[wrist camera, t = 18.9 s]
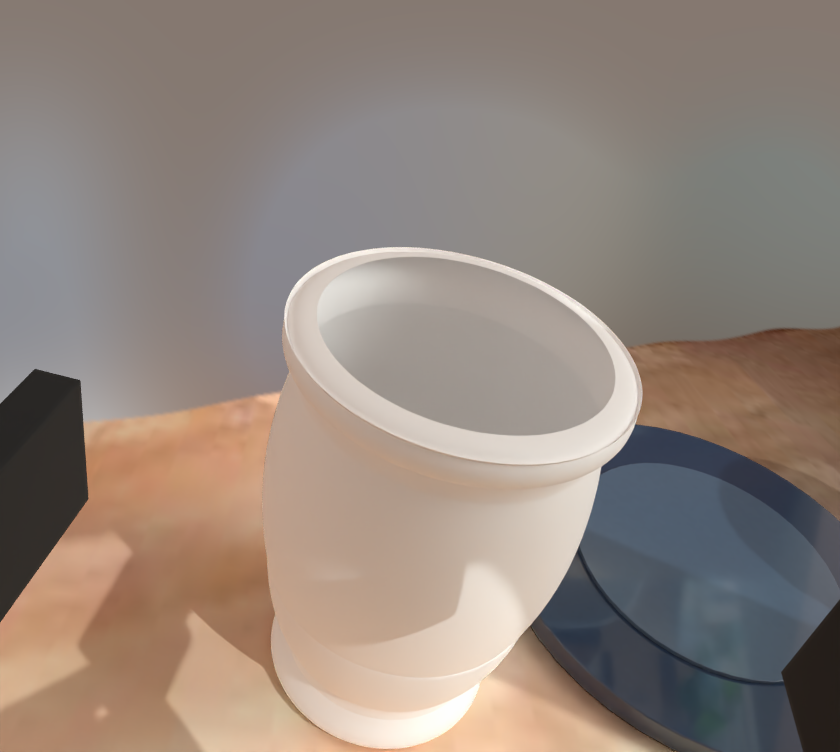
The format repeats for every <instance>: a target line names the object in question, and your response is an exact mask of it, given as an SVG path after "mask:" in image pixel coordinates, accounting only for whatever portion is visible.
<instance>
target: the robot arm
mask: <svg viewBox="0 0 840 752" xmlns="http://www.w3.org/2000/svg"><path fill="white" fill-rule="evenodd" d="M87 500H88V487H87V472H86V457H85V442H84V428H83V413H82V398H81V383H80V380H77V379H73V378H69V377H65V376H61V375H57V374H53V373H49V372H44V371H41V370H37V369H35V370H33V372H31V373H30V374H29V376H28V377H26V378H25V380H24V381H23V382H22V383H21V384H20V385H19V386H18V387H17V388H16V389H15V390H14V391H13V392H12V393H11V394H10V395H9V396H8V397H7V398H6V399H5V400H4V401H3V402H2V403H1V404H0V622H1V621H2V619H3V618H4V616H5V615H6V614H7V612H8V611H9V609H10V608H11V607H12V605H13V604H14V602H15V601H16V600H17V598H18V597H19V595H20V594H21V593H22V591H23V590H24V588H25V587H26V586H27V584H28V583H29V581H30V580H31V579H32V577H33V576H34V574H35V573H36V572H37V570H38V569H39V567H40V566H41V565H42V563H43V562H44V560H45V559H46V558H47V556H48V555H49V553H50V552H51V551H52V549H53V548H54V546H55V545H56V544H57V542H58V541H59V539H60V538H61V537H62V535H63V534H64V532H65V531H66V530H67V528H68V527H69V525H70V524H71V523H72V521H73V520H74V518H75V517H76V516H77V514H78V513H79V511H80V510H81V509H82V507H83V506H84V504H85V503H86V502H87ZM781 674H782V677H783V681H784V685H785V688H786V692H787V695H788V699H789V703H790V706H791V710H792V714H793V717H794V721H795V724H796V728H797V732H798V735H799V739H800V742H801V746H802V750H803V752H840V600H839V601H838V602H837V603H836V605H835V606H834V607H833V608H832V610H831V611H830V612H829V613H828V615H827V616H826V617H825V618H824V619H823V621H822V622H821V623H820V624H819V626H818V627H817V628H816V629H815V631H814V632H813V633H812V634H811V636H810V637H809V638H808V639H807V641H806V642H805V643H804V644H803V646H802V647H801V648H800V649H799V651H798V652H797V653H796V654H795V656H794V657H793V658H792V659H791V660H790V662H789V663H788V664H787V665H786V667H785V668H784V669H783V670H782V672H781Z"/></svg>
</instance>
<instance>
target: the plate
mask: <svg viewBox="0 0 840 752" xmlns="http://www.w3.org/2000/svg"><path fill="white" fill-rule="evenodd" d="M839 600H840V521H839V520H838V519H836V518H835V517H834V516H833V515H832V514H831V513H830V512H829V511H827V510H826V509H825V508H824V507H822V506H821V505H820V504H819V503H817V502H816V501H815V500H814V499H812V498H811V497H810V496H809V495H807V494H806V493H804V492H803V491H801V490H800V489H799V488H797V487H796V486H794V485H793V484H791V483H790V482H789V481H787V480H785V479H784V478H782V477H780V476H779V475H777V474H776V473H774V472H772V471H771V470H769V469H767V468H766V467H764V466H762V465H760V464H758V463H756V462H754V461H752V460H750V459H748V458H746V457H745V456H742V455H740V454H738V453H736V452H733V451H731V450H729V449H727V448H724V447H722V446H719V445H717V444H714V443H711V442H709V441H706V440H703V439H701V438H697V437H694V436H690V435H687V434H684V433H680V432H676V431H672V430H667V429H662V428H658V427H651V426H643V425H635V426H634V429H633V431H632V433H631V435H630V437H629V439H628V440H627V442H626V443H625V445H624V446H623V448H622V449H621V450H620V451H619V452H618V453H617V454H616V455H615V456H614V457H613V458H612V459H611V460H610V461H608V462H607V463H606V464H604V465H603V466H602V467H601V471H600V477H599V482H598V487H597V491H596V495H595V499H594V503H593V506H592V510H591V513H590V516H589V520H588V523H587V526H586V529H585V531H584V534H583V537H582V539H581V542H580V544H579V547H578V549H577V552H576V554H575V556H574V558H573V560H572V562H571V565H570V567H569V569H568V570H567V572H566V574H565V576H564V578H563V580H562V581H561V583H560V585H559V586H558V588H557V590H556V591H555V593H554V594H553V596H552V597H551V599H550V600H549V602H548V603H547V605H546V606H545V607H544V609H543V610H542V611H541V613H540V614H539V615H538V617H537V618H536V619H535V620H534V621H533V623H532V624H531V625H530V626H531V628H532V629H533V631H534V632H535V634H536V636H537V637H538V638H539V640H540V641H541V642H542V643H543V645H544V646H545V647H546V648H547V650H548V651H549V652H550V653H551V655H552V656H553V657H554V658H555V660H556V661H557V662H558V663H559V664H560V665H561V666H562V667H563V668H564V669H565V670H566V671H567V672H568V673H569V674H570V675H571V676H572V677H573V679H574V680H575V681H576V682H577V683H578V684H579V685H580V686H581V687H582V688H584V689H585V690H586V691H587V692H588V693H590V694H591V695H592V696H593V697H594V698H596V699H597V700H598V701H599V702H600V703H601V704H603V705H604V706H605V707H606V708H607V709H609V710H610V711H611V712H613V713H614V714H616V715H617V716H619V717H620V718H621V719H623V720H624V721H626V722H627V723H629V724H630V725H632V726H633V727H634V728H636V729H637V730H639V731H640V732H642V733H644V734H646V735H648V736H649V737H651V738H653V739H655V740H656V741H658V742H660V743H662V744H664V745H665V746H667V747H669V748H671V749H673V750H675V751H677V752H803V750H802V746H801V742H800V739H799V735H798V732H797V728H796V724H795V721H794V717H793V714H792V710H791V706H790V703H789V699H788V695H787V692H786V688H785V685H784V681H783V677H782V674H781V672H782V670H783V669H784V668H785V667H786V665H787V664H788V663H789V662H790V660H791V659H792V658H793V657H794V656H795V654H796V653H797V652H798V651H799V649H800V648H801V647H802V646H803V644H804V643H805V642H806V641H807V639H808V638H809V637H810V636H811V634H812V633H813V632H814V631H815V629H816V628H817V627H818V626H819V624H820V623H821V622H822V621H823V619H824V618H825V617H826V616H827V615H828V613H829V612H830V611H831V610H832V608H833V607H834V606H835V605H836V603H837V602H838V601H839Z"/></svg>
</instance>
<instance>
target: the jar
mask: <svg viewBox="0 0 840 752" xmlns="http://www.w3.org/2000/svg"><path fill="white" fill-rule="evenodd" d="M284 317H285V318H284V323H283V331H282V344H283V350H284V355H285V359H286V363H287V366H288V368H289V371H290V372H289V374H288V376H287V379H286V381H285V384H284V387H283V389H282V392H281V395H280V398H279V401H278V404H277V408H276V411H275V415H274V418H273V422H272V426H271V431H270V435H269V440H268V445H267V451H266V457H265V464H264V474H263V489H262V514H263V530H264V540H265V548H266V555H267V569H268V580H269V588H270V594H271V599H272V604H273V608H274V611H275V617H274V620H273V625H272V631H271V652H272V659H273V663H274V667H275V670H276V673H277V676H278V678H279V681H280V683H281V685H282V687H283V689H284V690H285V692H286V694H287V695H288V697H289V698H290V700H291V701H292V702H293V704H294V705H295V706H296V707H297V708H298V710H299V711H300V712H301V713H302V714H303V715H304V716H305V717H307V718H308V719H309V720H310V721H311V722H312V723H314V724H315V725H316V726H318V727H319V728H321V729H322V730H324V731H326V732H327V733H329V734H331V735H333V736H335V737H337V738H339V739H341V740H344V741H346V742H349V743H352V744H355V745H359V746H363V747H369V748H377V749H398V748H407V747H411V746H415V745H419V744H422V743H425V742H428V741H430V740H432V739H434V738H436V737H438V736H440V735H442V734H443V733H445V732H446V731H448V730H449V729H450V728H451V727H453V726H454V725H455V724H456V723H457V722H458V721H459V720H460V719H461V718H462V717H463V716H464V714H465V713H466V712H467V710H468V709H469V707H470V706H471V704H472V702H473V701H474V699H475V696H476V694H477V692H478V689H479V686H480V682H481V681H482V680H483V679H484V678H485V677H487V676H488V675H489V674H490V673H491V672H492V671H493V670H494V669H495V668H496V667H497V666H498V665H499V664H500V662H501V661H502V660H503V659H504V658H505V657H506V655H507V654H508V653H509V652H510V650H511V649H512V648H513V646H514V645H515V643H516V642H517V641H518V639H519V637H520V636H521V635H522V634H523V633H524V632H525V630H526V629H527V628H528V627H529V626H530V625H531V624H532V623H533V621H534V620H535V619H536V618H537V617H538V615H539V614H540V613H541V611H542V610H543V609H544V607H545V606H546V605H547V603H548V602H549V600H550V599H551V597H552V596H553V594H554V593H555V591H556V590H557V588H558V586H559V585H560V583H561V581H562V580H563V578H564V576H565V574H566V572H567V570H568V569H569V567H570V565H571V562H572V560H573V558H574V556H575V554H576V552H577V549H578V547H579V544H580V542H581V539H582V537H583V534H584V531H585V529H586V526H587V523H588V520H589V516H590V513H591V510H592V506H593V503H594V499H595V495H596V491H597V487H598V482H599V477H600V471H601V467H602V466H603V465H604V464H606V463H607V462H608V461H610V460H611V459H612V458H613V457H614V456H615V455H616V454H617V453H618V452H619V451H620V450H621V449H622V448H623V446H624V445H625V443H626V442H627V440H628V439H629V437H630V435H631V433H632V431H633V429H634V426H635V423H636V420H637V416H638V414H639V411H640V408H641V403H642V385H641V379H640V376H639V372H638V370H637V367H636V365H635V363H634V361H633V359H632V357H631V355H630V354H629V352H628V350H627V349H626V347H625V346H624V345H623V343H622V342H621V341H620V340H619V338H618V337H617V336H616V335H615V334H614V333H613V332H612V331H611V329H610V328H608V326H607V325H606V324H605V323H603V322H602V321H601V320H600V319H599V318H598V317H596V316H595V315H594V314H593V313H592V312H591V311H589V310H588V309H587V308H585V307H584V306H583V305H581V304H580V303H578V302H577V301H575V300H574V299H572V298H571V297H569V296H568V295H566V294H564V293H562V292H561V291H559V290H557V289H556V288H554V287H552V286H550V285H548V284H546V283H544V282H542V281H540V280H538V279H536V278H534V277H532V276H529V275H527V274H525V273H523V272H520V271H517V270H515V269H512V268H510V267H507V266H504V265H501V264H498V263H495V262H492V261H488V260H485V259H481V258H477V257H473V256H469V255H465V254H460V253H455V252H449V251H443V250H436V249H426V248H410V247H391V248H376V249H368V250H362V251H357V252H352V253H349V254H345V255H341V256H338V257H336V258H333V259H331V260H328V261H326V262H324V263H322V264H320V265H318V266H317V267H315V268H313V269H312V270H311V271H309V272H308V273H307V274H306V275H304V276H303V277H302V278H301V279H300V280H299V281H298V282H297V284H296V285H295V286H294V288H293V289H292V291H291V293H290V295H289V297H288V300H287V303H286V307H285V316H284Z"/></svg>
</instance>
